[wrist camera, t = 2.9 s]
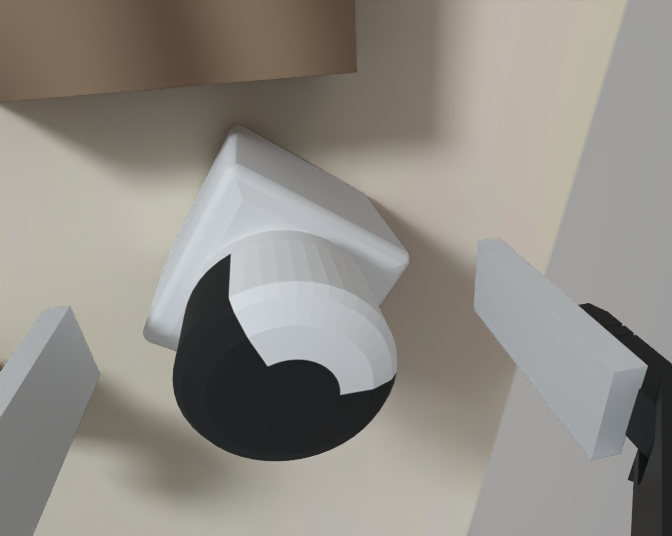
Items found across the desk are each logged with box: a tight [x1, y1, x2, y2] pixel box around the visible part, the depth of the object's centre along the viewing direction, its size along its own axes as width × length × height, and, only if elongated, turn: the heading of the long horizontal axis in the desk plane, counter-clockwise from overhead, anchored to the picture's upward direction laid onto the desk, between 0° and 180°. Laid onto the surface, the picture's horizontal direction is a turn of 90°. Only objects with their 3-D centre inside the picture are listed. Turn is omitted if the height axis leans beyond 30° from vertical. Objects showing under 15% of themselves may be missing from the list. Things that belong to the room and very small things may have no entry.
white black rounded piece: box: [143, 125, 410, 461], centre depth 17 cm, size 7×7×12 cm
